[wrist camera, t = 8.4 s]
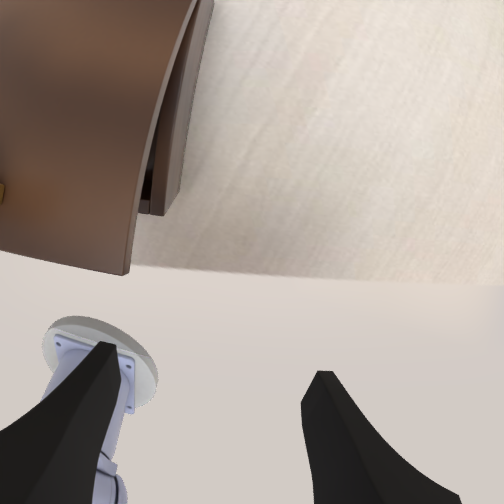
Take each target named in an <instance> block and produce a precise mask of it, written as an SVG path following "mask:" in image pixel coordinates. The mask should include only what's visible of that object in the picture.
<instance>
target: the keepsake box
mask: <svg viewBox="0 0 504 504" xmlns="http://www.w3.org/2000/svg"><path fill="white" fill-rule="evenodd" d="M213 7H214V1H213V0H197V2H196V4H195V7H194V9H193V12H192V14H191V17H190V19H189V22H188V25H187V27H186V30H185V33H184V35H183V38H182V41H181V44H180V47H179V50H178V52H177V55H176V58H175V61H174V65H173V68H172V71H171V74H170V77H169V80H168V84H167V87H166V90H165V94H164V97H163V101H162V105H161V108H160V112H159V116H158V119H157V123H156V127H155V131H154V135H153V139H152V144H151V148H150V152H149V157H148V161H147V166H146V171H145V176H144V181H143V186H142V191H141V196H140V202H139V208H138V213H142V214H149V213H150V214H151V215H157V216H164V215H165V213H166V212H167V210H168V208H169V207H170V205H171V204H172V202H173V200H174V199H175V197H176V196H177V194H178V192H179V189H180V181H181V174H182V166H183V159H184V152H185V145H186V139H187V133H188V126H189V120H190V115H191V109H192V103H193V98H194V92H195V87H196V82H197V77H198V72H199V67H200V62H201V58H202V53H203V49H204V44H205V40H206V35H207V31H208V27H209V23H210V19H211V15H212V11H213Z"/></svg>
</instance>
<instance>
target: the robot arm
mask: <svg viewBox="0 0 504 504" xmlns="http://www.w3.org/2000/svg"><path fill="white" fill-rule="evenodd" d="M53 339H54V344H55V349H56V353H57V358H58V362H59V364H58V366H57V368H56V370H55V372H54V374H53V376H52V378H51V380H50V382H49V384H48V386H47V388H46V390H45V393H44V395H43V397H42V399H41V401H40V403H39V404H37V405H36V406H35V407H34V408H32V409H31V410H30V411H29V412H27V413H26V414H25V415H23V416H22V417H21V418H19V419H18V420H17V421H15V422H14V423H12V424H11V425H9V426H8V427H6V428H4V429H3V430H1V431H0V504H127V491H126V488H125V486H124V482H123V480H122V478H121V477H120V476H119V475H117V474H116V470H117V464H115V463H113V462H112V461H111V459H112V458H113V456H114V453H115V449H116V445H117V441H118V436H119V432H120V428H121V425H122V421H123V416H124V413H128V414H134V411H135V360H134V359H133V358H132V357H130V356H126V355H122V354H119V353H117V347H116V345H115V344H111V343H106V342H102V341H100V342H98V343H97V344H96V346H92V345H89V344H86V343H83V342H80V341H77V340H74V339H71V338H68V337H65V336H62V335H59V334H55V336H54V337H53ZM301 417H302V428H303V433H304V438H305V444H306V448H307V453H308V458H309V464H310V469H311V474H312V480H313V493H314V504H462V503H461V500H460V498H459V495H457V494H455V493H453V492H452V491H450V490H448V489H446V488H444V487H442V486H440V485H439V484H437V483H435V482H434V481H432V480H431V479H429V478H428V477H426V476H425V475H423V474H422V473H421V472H419V471H418V470H416V468H414V467H413V466H412V465H411V464H409V463H408V462H407V461H406V460H405V459H403V458H402V457H401V456H400V455H399V454H398V453H397V452H396V451H395V450H394V449H393V448H392V447H391V446H390V445H389V444H388V443H387V442H386V441H385V440H384V439H383V438H382V437H381V435H380V434H379V433H378V432H377V431H376V430H375V428H374V427H373V426H372V425H371V424H370V422H369V421H368V420H367V418H365V416H364V415H363V413H362V412H361V411H360V409H359V408H358V407H357V405H356V404H355V402H354V401H353V400H352V398H351V397H350V395H349V394H348V393H347V391H346V390H345V388H344V387H343V385H342V384H341V383H340V381H339V380H338V378H337V377H336V375H335V374H334V372H333V371H317V373H316V375H315V377H314V379H313V380H312V382H311V384H310V386H309V388H308V390H307V392H306V394H305V395H304V397H303V399H302V401H301Z"/></svg>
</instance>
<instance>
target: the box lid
mask: <svg viewBox="0 0 504 504" xmlns="http://www.w3.org/2000/svg"><path fill="white" fill-rule="evenodd" d="M196 2H197V0H0V250H1V251H5V252H9V253H13V254H18V255H22V256H27V257H31V258H35V259H40V260H44V261H49V262H54V263H58V264H63V265H68V266H73V267H78V268H83V269H88V270H93V271H98V272H103V273H108V274H114V275H119V276H123V275H125V274H128V273H129V270H130V262H131V254H132V246H133V239H134V232H135V226H136V220H137V213H138V208H139V202H140V196H141V191H142V186H143V181H144V176H145V171H146V166H147V161H148V157H149V152H150V148H151V144H152V139H153V135H154V131H155V127H156V123H157V119H158V116H159V112H160V108H161V105H162V101H163V97H164V94H165V90H166V87H167V84H168V80H169V77H170V74H171V71H172V68H173V65H174V61H175V58H176V55H177V52H178V50H179V47H180V44H181V41H182V38H183V35H184V33H185V30H186V27H187V25H188V22H189V19H190V17H191V14H192V12H193V9H194V7H195V4H196Z"/></svg>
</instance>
